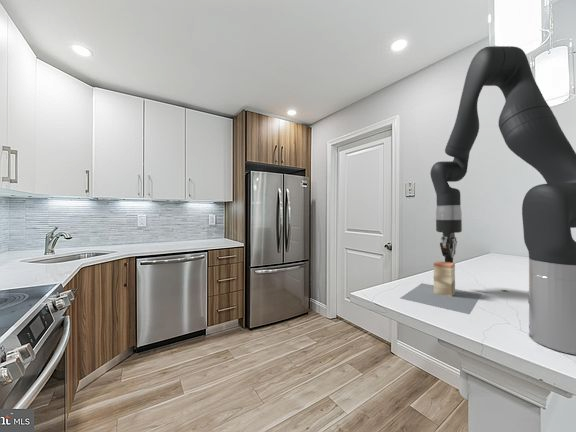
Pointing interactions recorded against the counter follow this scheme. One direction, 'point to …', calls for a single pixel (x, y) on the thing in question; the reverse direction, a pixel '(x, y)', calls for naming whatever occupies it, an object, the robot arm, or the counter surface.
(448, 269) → the birch block
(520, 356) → the counter surface
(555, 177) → the robot arm
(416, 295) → the rubber mat
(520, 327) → the counter surface
